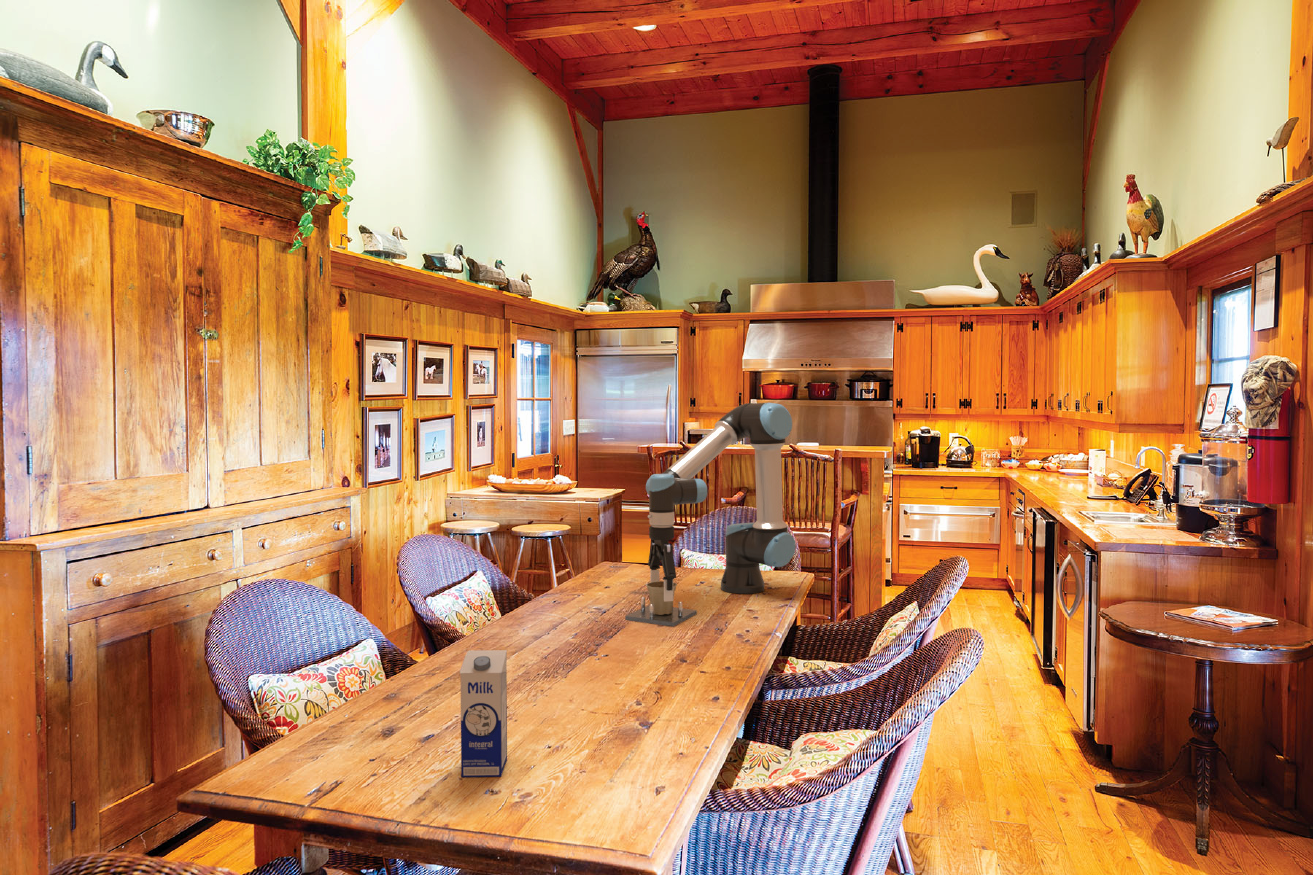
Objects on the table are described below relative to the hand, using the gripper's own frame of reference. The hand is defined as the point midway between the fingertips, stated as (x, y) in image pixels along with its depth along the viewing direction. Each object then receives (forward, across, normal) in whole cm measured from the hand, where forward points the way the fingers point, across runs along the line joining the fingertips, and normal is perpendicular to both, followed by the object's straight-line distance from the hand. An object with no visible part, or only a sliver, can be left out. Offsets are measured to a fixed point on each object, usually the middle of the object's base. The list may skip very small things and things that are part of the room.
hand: (661, 595), depth 239 cm
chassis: (+6, 0, 0) cm, 6 cm away
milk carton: (+7, +87, -60) cm, 106 cm away
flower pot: (+5, 0, 0) cm, 5 cm away
